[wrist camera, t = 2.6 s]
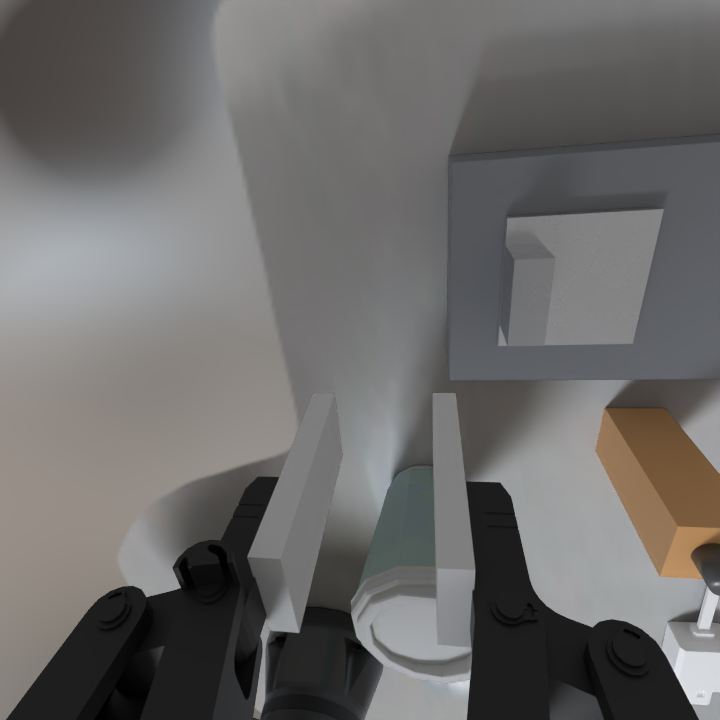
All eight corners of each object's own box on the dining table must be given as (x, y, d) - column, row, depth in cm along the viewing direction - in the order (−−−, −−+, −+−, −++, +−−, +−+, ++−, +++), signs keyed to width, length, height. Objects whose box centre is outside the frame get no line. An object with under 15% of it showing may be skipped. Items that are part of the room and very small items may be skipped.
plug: (595, 450, 38) (675, 607, 26) (604, 407, 36) (696, 556, 24) (652, 451, 38) (761, 612, 25) (665, 408, 35) (790, 561, 23)
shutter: (496, 341, 29) (505, 369, 26) (505, 216, 25) (517, 230, 22) (628, 339, 28) (654, 367, 25) (658, 207, 24) (693, 220, 21)
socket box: (446, 347, 35) (449, 380, 31) (448, 155, 29) (452, 162, 24) (756, 343, 32) (808, 378, 28) (839, 124, 25) (925, 125, 21)
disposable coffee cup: (363, 515, 46) (338, 674, 33) (376, 433, 40) (354, 585, 27) (466, 533, 45) (483, 703, 32) (493, 453, 40) (527, 618, 27)
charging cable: (767, 459, 38) (796, 486, 35) (700, 681, 51) (717, 714, 48) (701, 461, 39) (724, 488, 36) (652, 678, 52) (666, 710, 49)
